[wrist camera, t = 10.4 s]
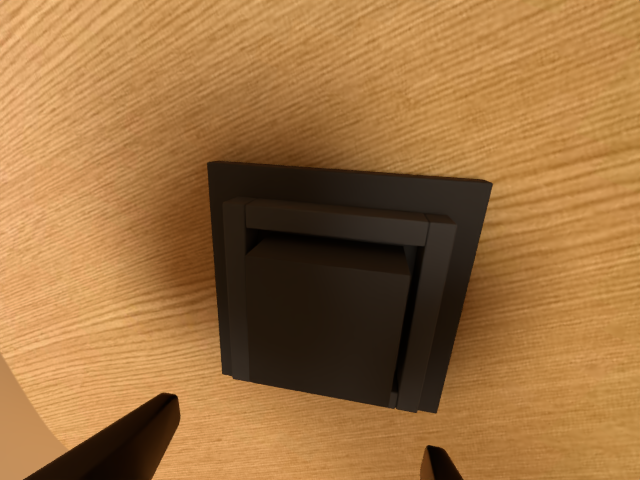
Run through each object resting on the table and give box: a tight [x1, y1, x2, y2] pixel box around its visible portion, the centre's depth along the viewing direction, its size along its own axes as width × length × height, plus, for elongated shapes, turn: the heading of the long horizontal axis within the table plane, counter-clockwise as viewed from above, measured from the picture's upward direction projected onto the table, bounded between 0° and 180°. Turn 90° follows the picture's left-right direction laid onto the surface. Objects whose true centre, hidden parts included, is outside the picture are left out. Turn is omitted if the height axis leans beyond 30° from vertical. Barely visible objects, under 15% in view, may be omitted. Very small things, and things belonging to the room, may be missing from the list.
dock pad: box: [207, 161, 493, 413], centre depth 14 cm, size 12×12×2 cm
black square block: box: [245, 232, 411, 407], centre depth 13 cm, size 6×6×3 cm
